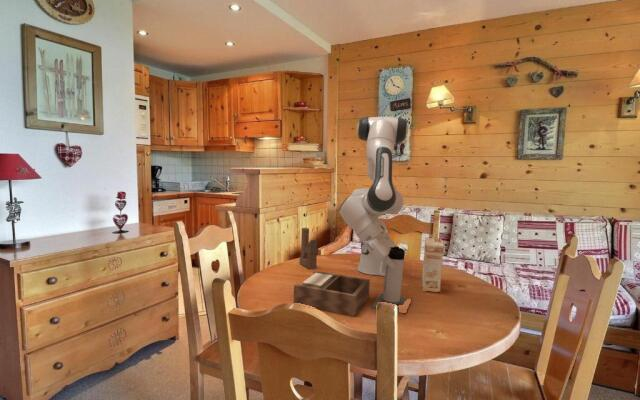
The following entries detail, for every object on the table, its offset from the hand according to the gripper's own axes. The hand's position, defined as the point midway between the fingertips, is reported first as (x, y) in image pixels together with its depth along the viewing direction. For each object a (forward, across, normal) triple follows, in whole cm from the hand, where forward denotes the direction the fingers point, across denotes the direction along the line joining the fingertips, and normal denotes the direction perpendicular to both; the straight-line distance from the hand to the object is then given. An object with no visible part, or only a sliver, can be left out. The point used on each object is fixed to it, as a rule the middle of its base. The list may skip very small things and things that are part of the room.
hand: (396, 264), depth 129 cm
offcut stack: (-8, -7, +30) cm, 32 cm away
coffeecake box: (+18, +27, +3) cm, 32 cm away
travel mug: (+9, 0, +11) cm, 14 cm away
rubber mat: (+10, 0, +11) cm, 15 cm away
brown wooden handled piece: (-22, +28, +44) cm, 57 cm away
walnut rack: (-4, -7, +26) cm, 27 cm away
